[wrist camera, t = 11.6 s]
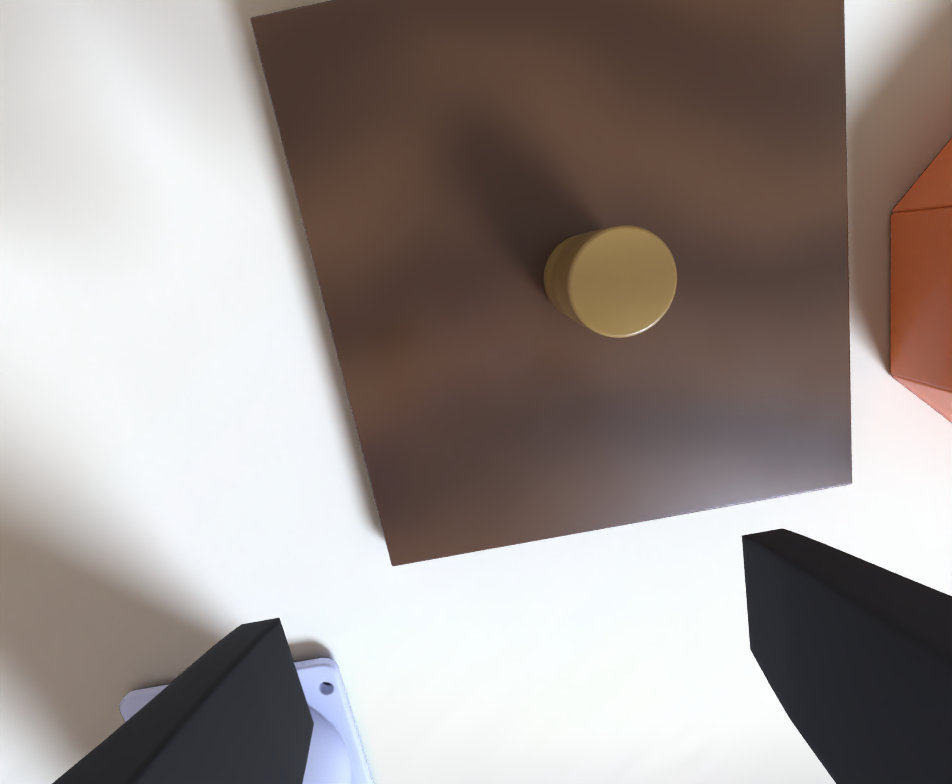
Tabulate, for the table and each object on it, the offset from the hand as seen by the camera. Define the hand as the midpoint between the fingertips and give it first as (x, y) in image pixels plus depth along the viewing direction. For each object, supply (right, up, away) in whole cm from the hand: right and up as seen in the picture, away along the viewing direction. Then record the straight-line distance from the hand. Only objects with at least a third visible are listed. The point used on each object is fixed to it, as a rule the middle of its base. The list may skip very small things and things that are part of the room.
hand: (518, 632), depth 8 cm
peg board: (+2, +7, +8) cm, 11 cm away
